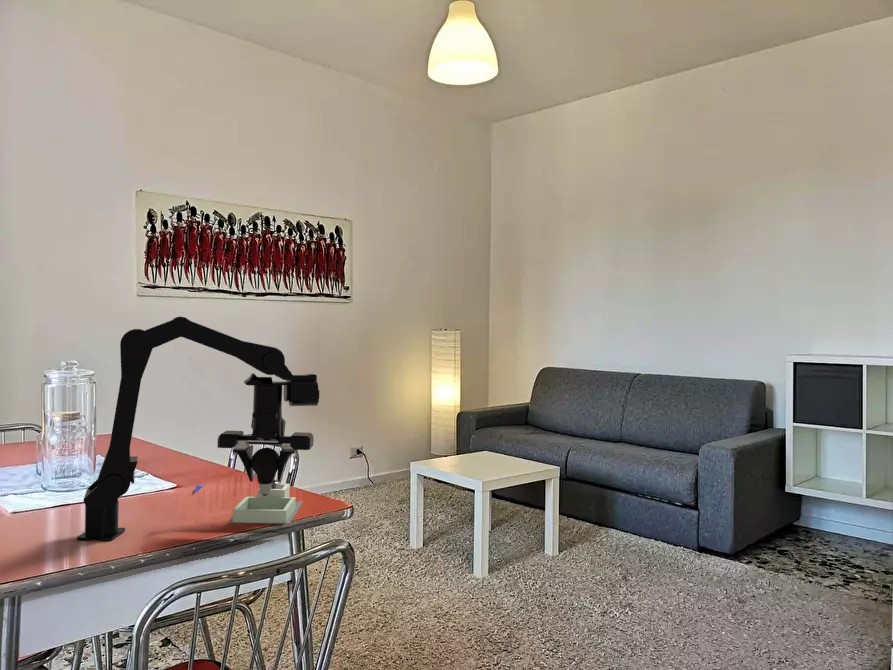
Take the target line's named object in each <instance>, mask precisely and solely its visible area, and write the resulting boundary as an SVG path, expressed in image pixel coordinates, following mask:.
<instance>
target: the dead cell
mask: <svg viewBox="0 0 893 670" xmlns="http://www.w3.org/2000/svg"><path fill="white" fill-rule="evenodd" d="M281 484H282V482H281V481H280V482H278V481H277V478H273V481H272V484H271V489H281Z"/></svg>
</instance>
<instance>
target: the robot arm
mask: <svg viewBox="0 0 893 670" xmlns="http://www.w3.org/2000/svg"><path fill="white" fill-rule="evenodd" d="M178 338H184V339H186V340H190V341H192V342H194V343H197V344H200V345H203V346H205V347H208V348H211V349H213V350H216V351H219V352H221V353H225V354H227V355H229V356H231V357H235V358H236V359H238V360H239V361H241V362H243V363H245V364H247V366H250V367H251V368H253V369H255V370H257V371H259V372H260V373H262V374H265V375H268V376H257V375H256V373H251V374H250V376H249V377H247V378H246V379H245V380H244V381H243V384H244V385H246V386H253V399H252V400H253V408H252V409H253V410H252V418H251V426H250V427H251V429H252V432H251V434H244V430H225V431H224V432H222V433H220V434H219V435H218V437H217V444H216V445H217V448H219V449H232V453H236V454H237V456H238V457H239V459H240V462H242V465H243V467H244V470H245V472H246V474H247V476H248V479H249V481H250V482H253V481H254V475H255V474H254V473H255V471H254V470H253V468H252V465H251V460H252V457H253V455H254V445H265V446H266V445H270V446H271V445H274V446H282V449H281V450H280V451H279V453H278V454H279V463H278V470H277V472H276V473H277V477H276V479H277V481H278V482H281V480H282V478H283V475H284V472H285V469H286V465H287V464H288V461H289V459H290V457H291V455H294V454H295V453H297V452H298V451H309V450H312V449H311V448H313V446H314V441H315V440H314V435H313V434H312V432H299V431H298V432H293V433H292V434H291V435H290V436H289V435H285V431H286V420H285V419H284V418H283V413H282V412H283V411H282V409H283V407H282V406H283V400H284V402H287V403H288V405H289V407H317V406H318V404H319V401H320V389H319V383H318V376H317V374H314V373H306V374H293V373H292V370H289V368H288V366H287V365H286V357H285V355H284V353H283V351H282V350H281V349H279V348H277V347H274V346H269V345H265V344H264V345H263V344H260V343H256V342H255V343H254V342H249V341H245V340H241V339H239V338H236V337H233V336H231V335H228V334H225V333H223V332H220V331H218V330H216V329H213V328H210V327H207V326H205V325H202V324H201V323H197V322H194V321H192V320H190V319H188V318H187V317H184V316H176V317H173V319H171V320H169V321H166V322H163V323H159V324H158V325H155V326H153V327H150V328H148V329H145V330H144V329H142V328H133V329H130V330H128V331H126V332H125V333H124V335H122V337H121V339H120V343H119V345H120V346H119V348H120V349H119V350H120V353H119V354H120V383H119V387H118V388H119V389H118V395H117V401H116V406H115V411H114V417H113V418H114V419H113V423H112V424H113V425H112V430H111V435H110V442H109V446H108V449H107V452H106V454H105V456H104V460H103V461H102V465H101V468H100V471H99V473H98V477H97V479H96V480H95V481H94V482H93V483H92V484H91V485H90V486H88V488H86V491H85V495H84V498H83V503H84V532H83V533H81V534H79V535H78V536H76V540H78V541H88V540H89V541H112V540H114V539H115V538H116V537H118V536H120V535H121V534H122V533H124V532H125V531H126V527H119V510H120V509H119V506H120V505H119V504H120V503H119V502H120V501H119V498H120V497H122V496H124V495H125V494H126V493H127V492H128V491H129V488H130V486H131V484H134V483H135V479H136V475H135V470H136V468H137V465H138V458H139V457H138V455H136V456H135V455H134V456H131V442H132V437H133V430H134V424H135V420H136V419H135V418H136V413H137V407H138V401H139V396H140V388H141V382H142V378H143V376H144V373H145V370H146V368H147V365H148V362H149V361H150V357H151V354H152V352H153V349H155V348H158V347H160V346H162V345H165V344H167V343H169V342H172V341H174V340H176V339H178ZM273 375H274V376H275V377H276V378H279V379H281V380H282V381H273V378H272V377H271V376H273Z"/></svg>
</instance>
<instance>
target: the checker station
mask: <svg viewBox="0 0 893 670" xmlns="http://www.w3.org/2000/svg"><path fill="white" fill-rule="evenodd" d="M290 485H291V484H290V483H281V489H271V492H270V493H269V494H268V495H267V496H263V495H262V494H261V493H260V492H259V488H257V496H245V497H243V499H242V500H241V502H239V503H238V504H237V505H236V506H235V507H234V508H233V509H232V519H231V520H230V521H229V522H228V523H229V524H274V525H275V524H279V525H280V524H281V525H286V524H287V525H288V524H290V523H291V522H292V521H293V519H294V518H295V515H297V512H298V511H299V509H300V508H301V506H302V504H303V503H304V501H296V499H297V497H296V496H295V497H293V496H292V497H291V496H290V489H291V487H290Z"/></svg>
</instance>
